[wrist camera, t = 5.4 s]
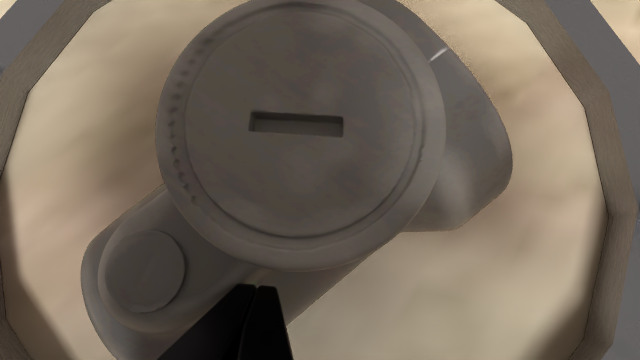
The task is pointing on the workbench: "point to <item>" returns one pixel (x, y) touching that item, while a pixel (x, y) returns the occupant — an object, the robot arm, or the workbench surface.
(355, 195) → the pipe fitting
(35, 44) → the ring
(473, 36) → the workbench surface
